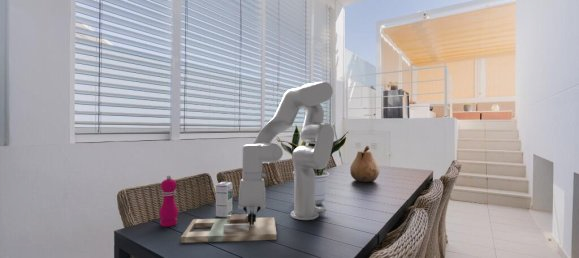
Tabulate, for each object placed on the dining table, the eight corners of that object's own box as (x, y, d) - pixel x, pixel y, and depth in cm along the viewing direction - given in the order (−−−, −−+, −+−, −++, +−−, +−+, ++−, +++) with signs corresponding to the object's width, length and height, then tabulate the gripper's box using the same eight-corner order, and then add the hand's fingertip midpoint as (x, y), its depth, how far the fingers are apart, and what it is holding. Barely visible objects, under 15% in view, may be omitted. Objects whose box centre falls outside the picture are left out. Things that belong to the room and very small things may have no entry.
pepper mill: (162, 221, 118) (163, 173, 118) (180, 220, 119) (180, 173, 118) (156, 227, 111) (156, 176, 111) (175, 227, 112) (175, 176, 111)
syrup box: (227, 217, 124) (228, 184, 123) (215, 216, 125) (215, 183, 124) (232, 213, 129) (233, 182, 129) (221, 212, 130) (221, 181, 130)
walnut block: (246, 222, 111) (246, 214, 111) (245, 228, 105) (246, 219, 105) (231, 223, 111) (231, 214, 111) (229, 228, 105) (229, 219, 105)
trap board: (274, 222, 118) (274, 211, 118) (276, 239, 100) (276, 227, 100) (193, 224, 115) (193, 213, 115) (180, 242, 97) (180, 229, 97)
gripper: (271, 174, 112) (270, 219, 113) (233, 174, 111) (233, 220, 111) (272, 177, 105) (271, 226, 105) (231, 178, 103) (231, 227, 104)
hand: (251, 223), depth 108 cm, fingers closed
